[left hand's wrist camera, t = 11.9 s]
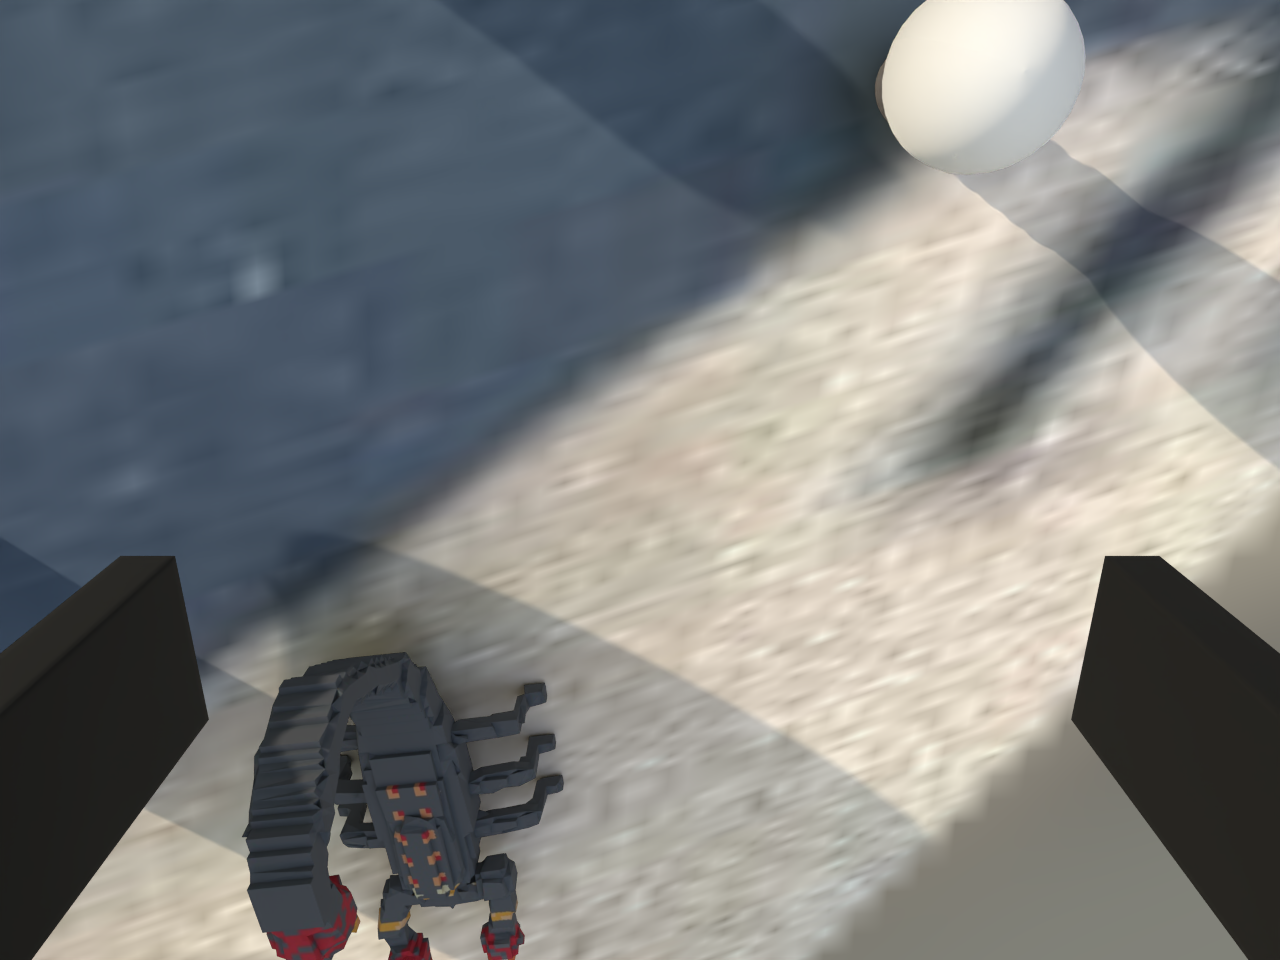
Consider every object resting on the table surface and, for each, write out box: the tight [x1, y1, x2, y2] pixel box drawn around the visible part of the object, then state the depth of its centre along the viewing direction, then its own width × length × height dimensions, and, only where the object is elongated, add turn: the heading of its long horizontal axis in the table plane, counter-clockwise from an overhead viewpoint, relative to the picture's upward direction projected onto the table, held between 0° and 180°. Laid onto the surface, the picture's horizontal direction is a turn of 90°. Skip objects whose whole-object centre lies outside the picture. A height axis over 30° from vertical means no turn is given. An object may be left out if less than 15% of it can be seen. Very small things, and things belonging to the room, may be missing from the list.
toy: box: [242, 652, 564, 960], centre depth 44 cm, size 13×27×18 cm, turn 7°
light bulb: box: [875, 0, 1085, 175], centre depth 34 cm, size 7×7×11 cm
